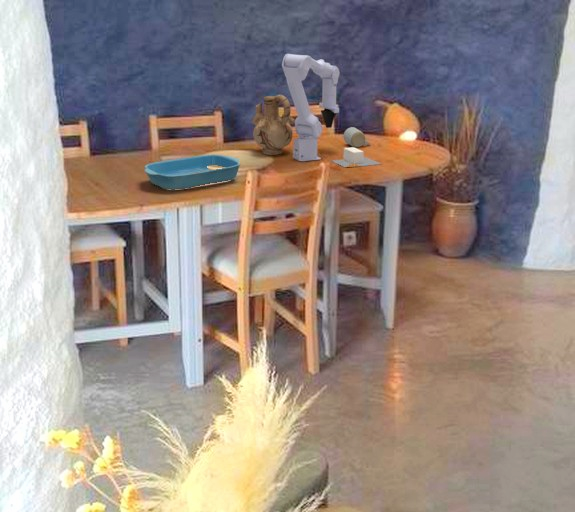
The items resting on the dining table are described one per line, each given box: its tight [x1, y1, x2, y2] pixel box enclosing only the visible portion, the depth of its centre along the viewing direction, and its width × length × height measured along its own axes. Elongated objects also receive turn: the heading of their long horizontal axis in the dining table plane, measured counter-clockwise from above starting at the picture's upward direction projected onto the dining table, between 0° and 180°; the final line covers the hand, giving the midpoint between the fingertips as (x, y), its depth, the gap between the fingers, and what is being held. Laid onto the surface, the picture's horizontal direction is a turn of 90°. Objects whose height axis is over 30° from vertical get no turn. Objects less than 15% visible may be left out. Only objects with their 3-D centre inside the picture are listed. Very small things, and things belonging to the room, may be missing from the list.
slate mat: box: [331, 156, 382, 168], centre depth 354 cm, size 16×12×1 cm
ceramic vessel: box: [251, 94, 296, 156], centre depth 366 cm, size 18×19×25 cm
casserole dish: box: [144, 154, 241, 190], centre depth 324 cm, size 37×22×7 cm, turn 125°
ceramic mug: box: [343, 126, 371, 148], centre depth 383 cm, size 11×8×8 cm
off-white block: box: [342, 146, 365, 164], centre depth 356 cm, size 4×4×9 cm
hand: (328, 127), depth 370 cm, fingers closed
